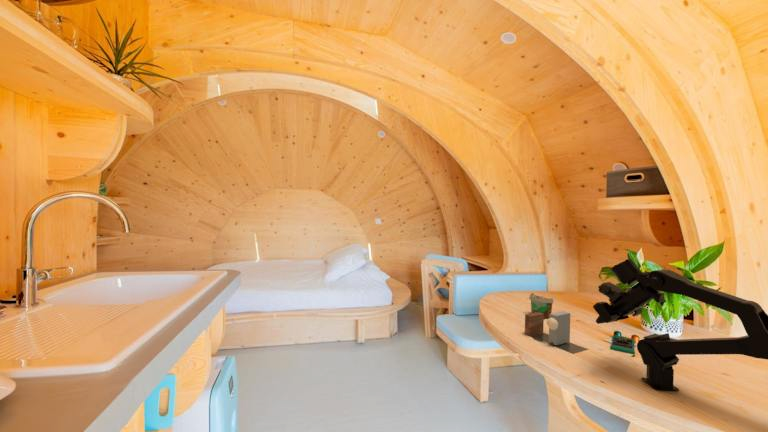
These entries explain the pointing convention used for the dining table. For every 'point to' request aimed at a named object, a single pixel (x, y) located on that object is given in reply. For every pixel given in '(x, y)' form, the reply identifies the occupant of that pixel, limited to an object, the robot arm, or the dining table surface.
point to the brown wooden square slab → (534, 323)
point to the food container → (541, 305)
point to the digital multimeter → (623, 344)
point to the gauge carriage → (559, 328)
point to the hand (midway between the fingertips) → (599, 321)
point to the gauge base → (565, 346)
